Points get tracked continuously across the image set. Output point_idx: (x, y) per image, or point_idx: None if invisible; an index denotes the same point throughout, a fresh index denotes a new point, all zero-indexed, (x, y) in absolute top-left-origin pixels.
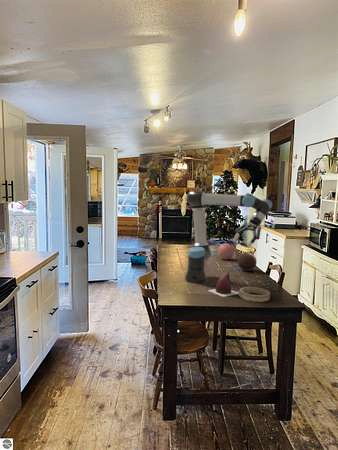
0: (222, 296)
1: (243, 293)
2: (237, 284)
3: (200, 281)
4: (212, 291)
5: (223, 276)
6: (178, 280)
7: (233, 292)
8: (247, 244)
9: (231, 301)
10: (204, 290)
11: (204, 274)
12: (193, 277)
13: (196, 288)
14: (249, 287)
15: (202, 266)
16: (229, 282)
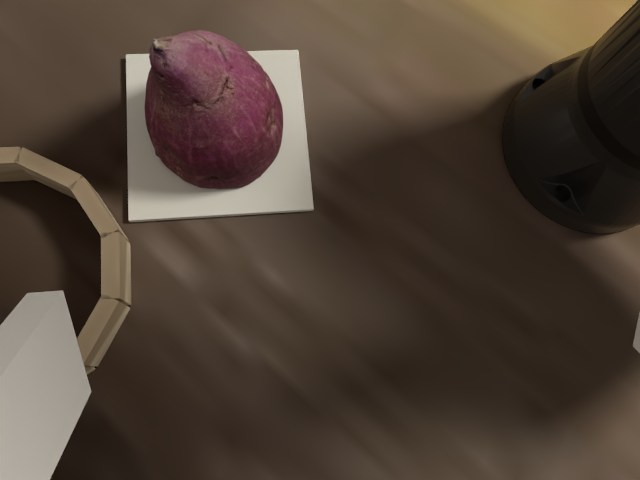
0: (135, 55)
1: (2, 149)
2: (349, 408)
3: (506, 128)
4: (259, 61)
5: (187, 33)
6: None
7: (160, 187)
8: (50, 304)
9: (23, 46)
10: (322, 43)
11: (560, 163)
12: (553, 73)
13: (387, 24)
14: (90, 317)
15: (603, 97)
16: (150, 100)
